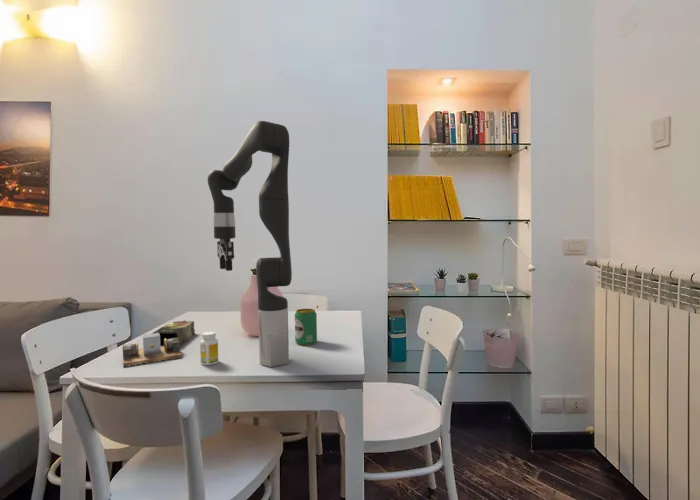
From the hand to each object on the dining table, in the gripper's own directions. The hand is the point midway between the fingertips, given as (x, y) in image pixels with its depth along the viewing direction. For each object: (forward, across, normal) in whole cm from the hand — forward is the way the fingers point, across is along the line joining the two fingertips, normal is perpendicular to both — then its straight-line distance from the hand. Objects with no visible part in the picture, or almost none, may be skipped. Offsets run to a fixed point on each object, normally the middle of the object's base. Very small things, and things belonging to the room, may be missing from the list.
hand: (226, 269), depth 151 cm
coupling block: (+26, -2, +26) cm, 37 cm away
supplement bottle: (+28, -19, +11) cm, 35 cm away
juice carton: (+28, +15, +16) cm, 36 cm away
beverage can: (+28, -16, -24) cm, 40 cm away
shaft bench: (+27, -2, +26) cm, 38 cm away
